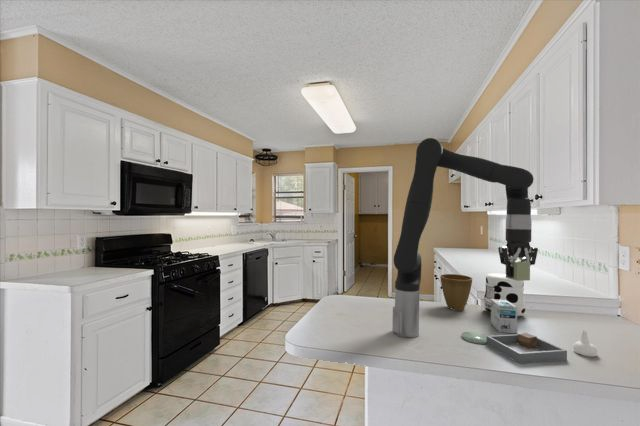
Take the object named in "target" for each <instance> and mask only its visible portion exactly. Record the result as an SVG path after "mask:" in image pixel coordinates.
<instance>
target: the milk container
mask: <svg viewBox="0 0 640 426" xmlns="http://www.w3.org/2000/svg"><path fill="white" fill-rule="evenodd" d="M524 285H525V282H524V281H516V280H513V279H509V278H506V273H504V274H503V273H487V274H486V276H485V294H484V295H483V301H482V302H483V308H484V310H486V311H487V312H488V313H490V314H491V299H497V300H507V301H509V302H510V303H512V304H513V305H515V306H517V318H519V317H520V318H521V317H523V316H524V315H525V313H526V301H525V298H524V289H525V288H524Z"/></svg>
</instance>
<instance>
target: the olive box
mask: <svg viewBox="0 0 640 426" xmlns="http://www.w3.org/2000/svg"><path fill="white" fill-rule="evenodd" d="M510 262H511V261H510ZM513 267H514V277H513V278H510V277H508V276H507V274H506V273H505V274H506V278H509V279H513V280H516V281H530V280H531V266H530V263H529V262H524V261H521V260H516V261H515V262H514V266H513Z"/></svg>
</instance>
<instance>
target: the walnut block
mask: <svg viewBox="0 0 640 426" xmlns="http://www.w3.org/2000/svg"><path fill="white" fill-rule="evenodd" d="M517 334H518V343H517V345H518V346H520V347H522V348H525V349H528V350H533V349H537V348H538V347H537V338H538V336H536V335H534V334H531V333H528V332H521V333H517Z"/></svg>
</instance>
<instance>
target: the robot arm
mask: <svg viewBox="0 0 640 426" xmlns="http://www.w3.org/2000/svg"><path fill="white" fill-rule="evenodd" d="M415 153H416V156H415V163H414V172H413V177H412V181H411V183H410V186H409V189H408V193H407V196H406V203H405V205H404V206H405V207H404V211H403V212H404V213H403V218H402V223H401V224H402V225H401V231H400V236H399V240H398V242H397V246H396V249H395V251H394V255H393V264H394V267H395V269H396V270H397V276H396V279H395V281H394V306H393V307H392V332H393V333H395V335H397V336H398V337H403V338H416V337H418V336H419V334H420V291H421V289H420V285H421V281H422V256H421V254H420V252H419V245H420V240H421V237H422V234H423V231H424V229H425V227H426V225H427V222H428V220H429V217H430V212H431V209H432V205H433V197H434V196H433V195H434V182H435V181H434V180H435V175H436V171H437V167H439V168H444V169H449V170H451V171H452V170H453V171H456V172H458V173H461V174H465V175H468V176H471V177H473V178H476V179H480V180H482V181H485V182H489V183H495V184H496V183H498V184H501V185H504V186H505V195H506V196H505V197H506V217H505V218H506V219H505V241H506V245H505V246H498V248H497V249H498V255H499V259H500V260H499V261H500V264H502V265H504V266H505V274H507V276H508V277H510V278H513V277H514V267H513V266H514V262H515V261H518V259H519V261H524V262H529V263H530V267H531V266H533V265H536V261H537V257H538V251H539V249H538V247H532V246H531V245H530V243H531V242H532V215H531V213H532V205H531V204H532V202H531V200H530V198H529V188H530V187H531V186H532V185H533V183H534V175H533V174H532V173H531V171H529V170H527V169H524V168H521V167H516V166H512V165H506V164H501V163H498V162H496V161H492V160H490V159H487V158H486V159H484V158H482V157H477V156H471V155H466V154H460V153H457V152H453V151H451V150H449V149H447V148H444V147H443V146H442V144H441V142H440V141H439V140H438V139H435V138H433V137H428V138H425V139H423V140H422V141H420V143H418V145H417V147H416V152H415ZM510 261H511V262H510Z"/></svg>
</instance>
